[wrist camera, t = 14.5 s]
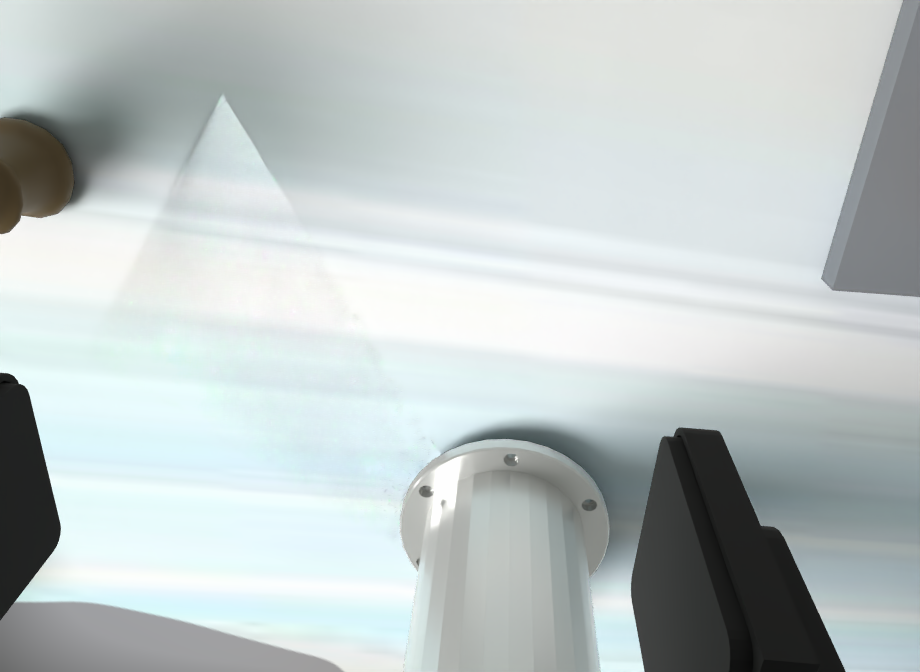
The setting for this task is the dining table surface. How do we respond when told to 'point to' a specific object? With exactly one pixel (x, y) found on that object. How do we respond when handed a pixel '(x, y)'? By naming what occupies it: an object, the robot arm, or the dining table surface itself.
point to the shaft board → (885, 181)
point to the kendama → (31, 173)
